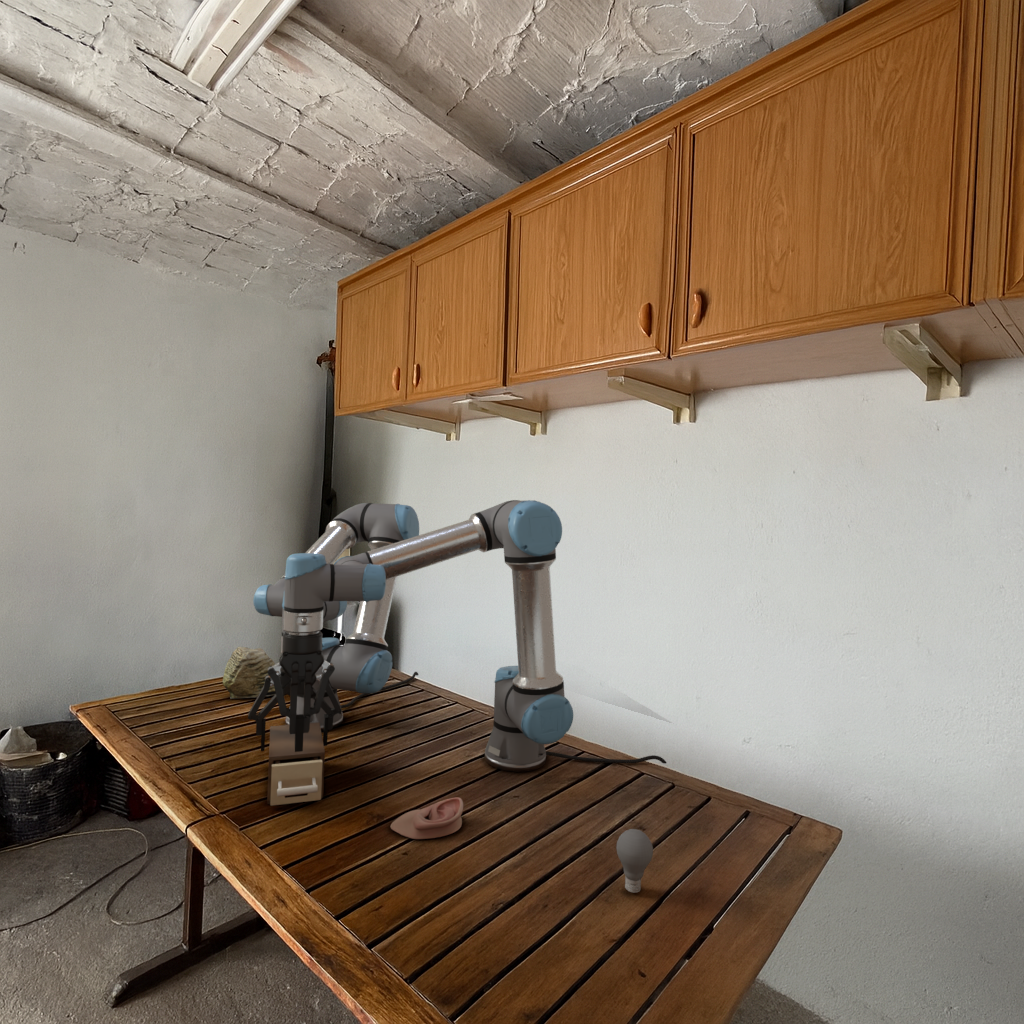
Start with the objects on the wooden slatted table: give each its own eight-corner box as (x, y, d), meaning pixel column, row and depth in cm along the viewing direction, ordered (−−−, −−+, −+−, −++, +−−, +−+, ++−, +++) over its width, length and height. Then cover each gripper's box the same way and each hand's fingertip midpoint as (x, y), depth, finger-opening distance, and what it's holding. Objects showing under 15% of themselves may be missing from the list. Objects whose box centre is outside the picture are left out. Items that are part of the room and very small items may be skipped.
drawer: (322, 811, 126) (324, 772, 126) (269, 818, 122) (271, 777, 122) (316, 766, 146) (317, 732, 146) (271, 770, 143) (272, 735, 143)
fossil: (218, 695, 195) (220, 647, 195) (278, 685, 208) (279, 640, 207) (228, 703, 189) (230, 653, 188) (289, 692, 201) (290, 645, 201)
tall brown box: (323, 797, 133) (324, 751, 133) (267, 804, 130) (269, 757, 129) (318, 763, 150) (319, 722, 150) (268, 768, 146) (270, 726, 146)
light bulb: (610, 879, 108) (613, 822, 108) (644, 879, 109) (647, 822, 109) (619, 902, 102) (622, 840, 102) (655, 901, 103) (658, 840, 103)
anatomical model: (384, 813, 120) (406, 787, 131) (383, 834, 120) (405, 806, 131) (452, 824, 117) (468, 796, 128) (451, 845, 117) (467, 815, 128)
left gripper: (238, 660, 137) (234, 757, 137) (355, 655, 146) (351, 747, 146) (240, 652, 144) (236, 744, 144) (352, 648, 153) (348, 735, 153)
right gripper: (267, 636, 120) (263, 759, 121) (338, 634, 125) (333, 753, 125) (268, 628, 127) (263, 744, 128) (335, 626, 132) (330, 739, 132)
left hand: (294, 746), depth 145 cm, fingers open, 13 cm apart
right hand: (298, 748), depth 126 cm, fingers closed
